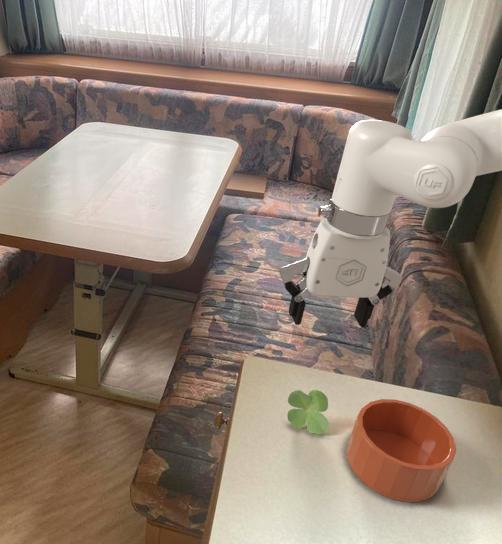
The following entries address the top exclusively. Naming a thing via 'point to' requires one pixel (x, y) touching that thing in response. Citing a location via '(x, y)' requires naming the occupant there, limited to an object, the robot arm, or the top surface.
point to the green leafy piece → (308, 411)
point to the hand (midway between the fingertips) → (327, 320)
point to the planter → (400, 450)
